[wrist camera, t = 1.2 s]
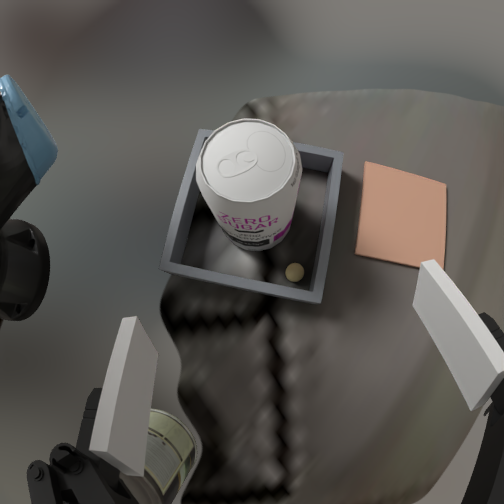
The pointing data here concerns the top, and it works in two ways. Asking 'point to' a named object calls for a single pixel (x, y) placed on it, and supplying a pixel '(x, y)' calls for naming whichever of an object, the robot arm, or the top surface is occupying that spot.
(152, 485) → the coffee can
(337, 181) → the parts tub
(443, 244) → the terracotta tile
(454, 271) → the top surface
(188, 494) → the top surface
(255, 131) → the supplement can
